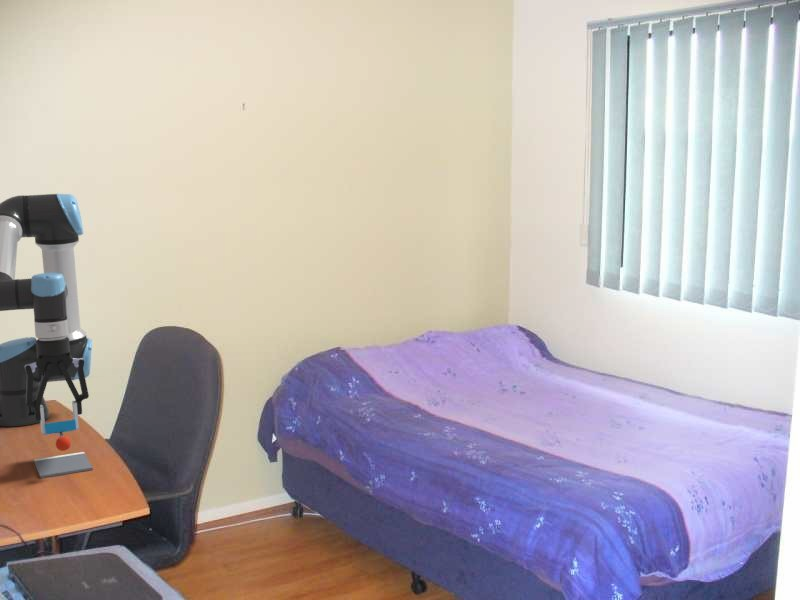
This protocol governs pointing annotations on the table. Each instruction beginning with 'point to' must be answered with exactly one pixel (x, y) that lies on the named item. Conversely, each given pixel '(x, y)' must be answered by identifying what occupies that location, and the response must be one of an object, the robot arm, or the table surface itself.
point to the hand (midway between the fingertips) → (60, 429)
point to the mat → (62, 464)
